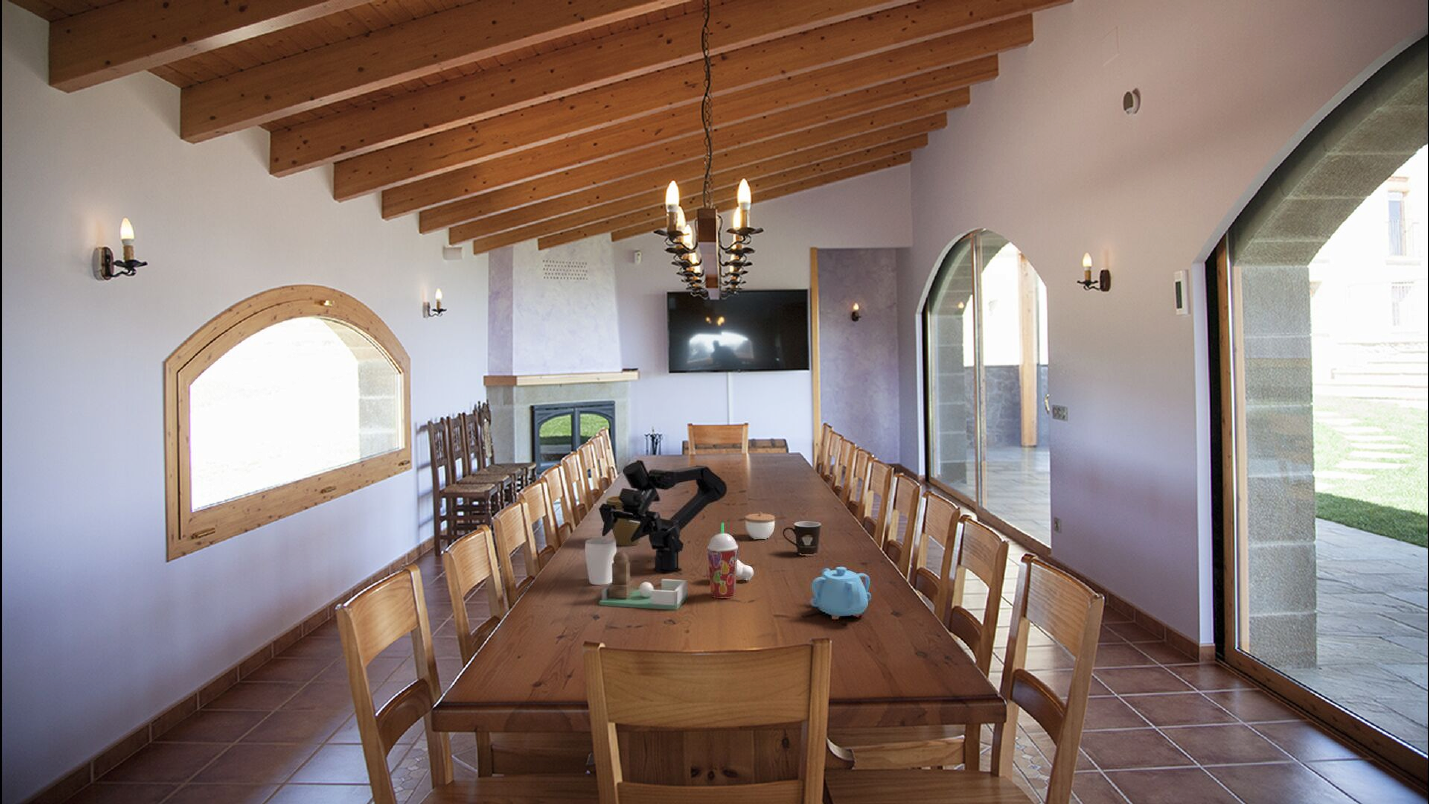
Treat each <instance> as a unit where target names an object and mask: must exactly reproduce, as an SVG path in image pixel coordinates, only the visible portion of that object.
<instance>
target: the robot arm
mask: <svg viewBox="0 0 1429 804" xmlns="http://www.w3.org/2000/svg"><path fill="white" fill-rule="evenodd" d="M622 474H623V476H624V478H625V479H626V481H627V482H628V485H629V487H630V488H623V487H622V488H621V491H620V493H619V495H618V496H619V497H618V499H619V500H620V501H621V502H622V505H621V507H622V508H623V509H624V510H623V511H620V510H616V507H615V505H611V504H607V503H601V505H600V506H599V508H598V511H599V513H600V517H601V520H602V522H603V526H602V527H603V528H602V532H601V535H602V536H601V537H602V538H605V536H607V535H608V534H609V533H610V532H611V531H612V528H613V527H614V526H615V523H616V522H617V521H618V518H621V519H626V520H627V521H631V522H636V523H640V524H639V526H638V527H637V529H636V531H635V532H634V534H633V535H632V537H631V542H634V541H636V540H638V539H642V538H644V537H645V536H648V541H649V542H650V546H651V549H652V550H655V556H654V567H652V568H653V570H654V571H656V572H660V573H662V574H670V573H673V572H678V571H682V568H681V567H679V565H680V563H679V553H680V552H682V551H683V548H684V543H683V542H682V541H681V539H680V538H681V537H680V536H681V533H682V532H681V531H682V530H683V529H684V528H685V527H686V526H687V525H688V524H690V523H691V521H693V519H695V518H696V516H698V515H699V514H700V512H701V511H703V510H704V509H705V507H708V505H710V504H712V503H715V502H718V501H719V500H722V499H723V498H724V497H725V496H726V495H727V491H728V487H727V484H726V482H725V481H724V480H723V479H722V478H721V477H720V476H719V475H717V474H716V473H714V472H713V471H712V470H711V468H710V467H709V466H707V465H698V464H697V465H694V466H690V467H685V468H684V467H682V468H678V469H672V470H668V469H659V468H657V469H656V468H655V469H654V468H652V469H649V471H648V470H647V468H646V465H645V463H644V461H643V460H642V459H641V460H639V459H637V460H635V461H633V462H632V463H629V464H627V465H625V466H624V467H623V468H622ZM691 481H695V484H696V485H697V490H696V493H695V495H694V496H693V497H692V498H690V499H689V500H688V501H687V502H686V503H685V504H684V505H683V506H682V507H681V508H680V509H679V510H678V511H677V512H676V513H675V514H674V515H673V516H671V517H670V518H669V519H664V518H661V514H660V513H659V512H657V511H651V510H650V509H649V508H650V507H651V505H652V503H656V502H657V503H659V502H660V501H661V498H660V494H659V492H658V491H657V489H658V490H662V491H668V490H670V489H672V488H674V487H675V486H676V485H677V484H680V483H685V482H691ZM644 514H645V516H644Z"/></svg>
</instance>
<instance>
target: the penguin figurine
mask: <svg viewBox="0 0 1429 804" xmlns="http://www.w3.org/2000/svg"><path fill="white" fill-rule="evenodd" d="M737 577H741V578H742V579H743V581H744V580H749V581H750V580H751V578H752V577H754V569H753V568H752V566H750V565H747V564H744V563H742V562H741V561H740V560H739V559H738V558H737V572H736V578H737Z"/></svg>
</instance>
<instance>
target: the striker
mask: <svg viewBox="0 0 1429 804" xmlns="http://www.w3.org/2000/svg"><path fill="white" fill-rule="evenodd" d="M613 561H614V563H612V583H611V584H610V583H609V584H610V585H609V584H608V585H609V597H611V598H628V597H629V596H630V595H631V594H632V593H633V592H634V590H635V589H634V579H633V580H632V579H631V569H630V566H631V565H630V563H631V562H630V561H629V556H628V554H627V553H626V552H624V551H618V552H617V551H616V554H615V555H614V557H613Z"/></svg>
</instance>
